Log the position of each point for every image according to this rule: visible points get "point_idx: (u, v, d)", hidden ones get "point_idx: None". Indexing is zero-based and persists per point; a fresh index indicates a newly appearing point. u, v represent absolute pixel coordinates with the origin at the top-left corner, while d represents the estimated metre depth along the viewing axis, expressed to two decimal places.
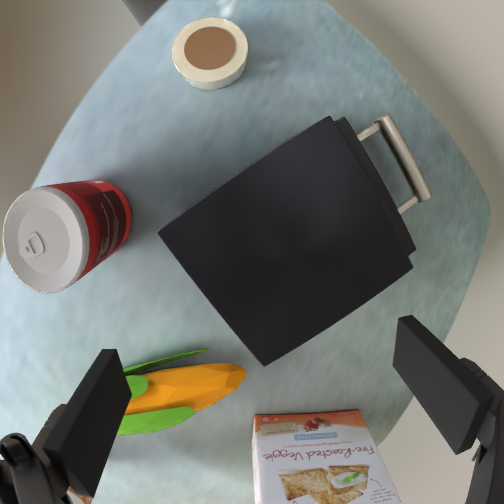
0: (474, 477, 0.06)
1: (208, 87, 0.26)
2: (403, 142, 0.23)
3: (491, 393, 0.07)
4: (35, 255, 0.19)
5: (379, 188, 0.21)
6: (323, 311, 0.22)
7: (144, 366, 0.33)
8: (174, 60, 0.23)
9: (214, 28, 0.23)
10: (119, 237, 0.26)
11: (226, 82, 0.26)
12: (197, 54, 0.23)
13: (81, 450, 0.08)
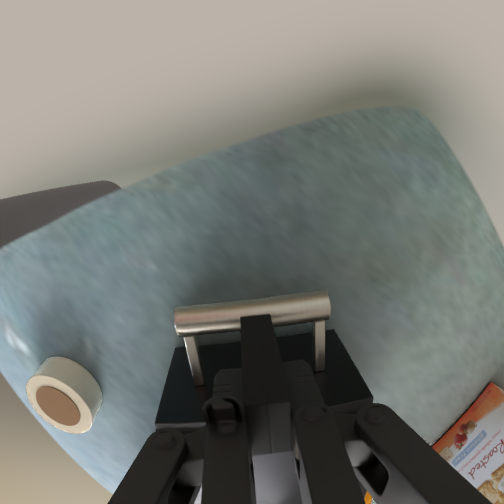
0: (302, 492, 0.08)
1: None
2: (226, 318, 0.16)
3: (287, 398, 0.09)
4: None
5: None
6: None
7: None
8: (64, 430, 0.21)
9: (38, 391, 0.20)
10: None
11: (97, 401, 0.22)
12: (62, 417, 0.21)
13: None
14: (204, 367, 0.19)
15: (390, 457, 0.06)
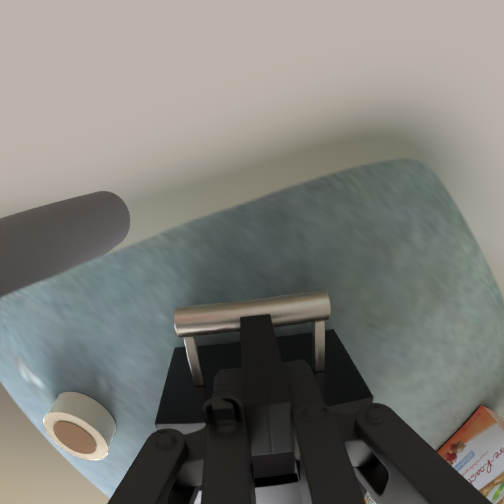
0: (302, 492, 0.08)
1: None
2: (226, 318, 0.16)
3: (287, 398, 0.09)
4: None
5: None
6: None
7: None
8: (81, 457, 0.22)
9: (55, 425, 0.21)
10: None
11: (111, 432, 0.23)
12: (79, 447, 0.22)
13: None
14: (204, 367, 0.19)
15: (390, 457, 0.06)
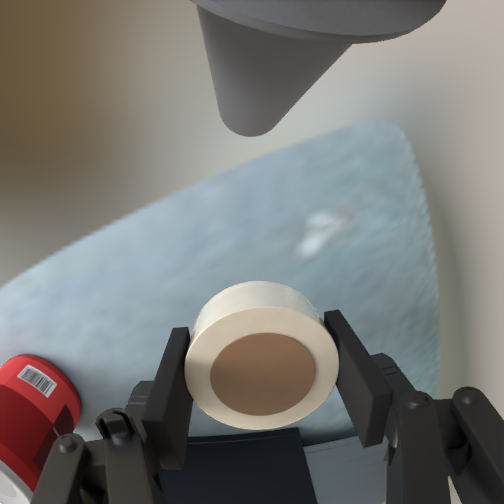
0: (388, 479, 0.07)
1: None
2: None
3: (390, 389, 0.09)
4: None
5: None
6: None
7: None
8: (187, 367, 0.12)
9: (296, 344, 0.12)
10: None
11: None
12: (235, 382, 0.13)
13: (174, 421, 0.10)
14: None
15: (477, 435, 0.06)
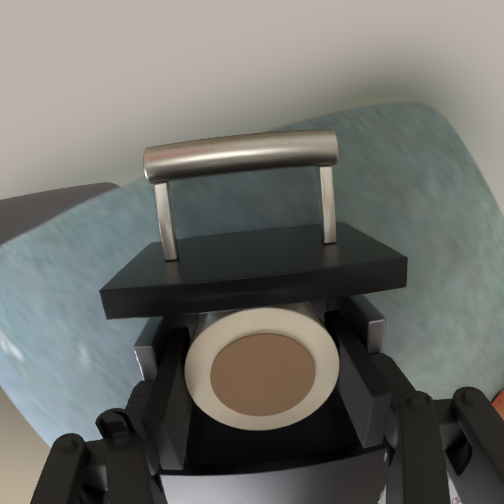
0: (388, 479, 0.07)
1: None
2: (206, 149, 0.12)
3: (390, 389, 0.09)
4: None
5: (253, 291, 0.11)
6: None
7: None
8: (187, 368, 0.12)
9: (297, 344, 0.12)
10: None
11: None
12: (235, 382, 0.13)
13: (174, 421, 0.10)
14: (181, 249, 0.16)
15: (477, 435, 0.06)
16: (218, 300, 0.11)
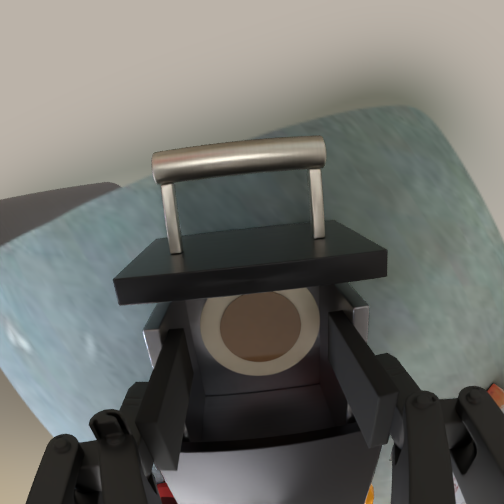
0: (394, 479, 0.07)
1: None
2: (208, 154, 0.14)
3: (396, 389, 0.09)
4: None
5: (249, 278, 0.13)
6: (348, 498, 0.16)
7: None
8: (202, 320, 0.17)
9: (286, 300, 0.17)
10: None
11: None
12: (239, 331, 0.17)
13: (168, 422, 0.10)
14: (184, 244, 0.17)
15: (482, 434, 0.06)
16: (219, 287, 0.13)
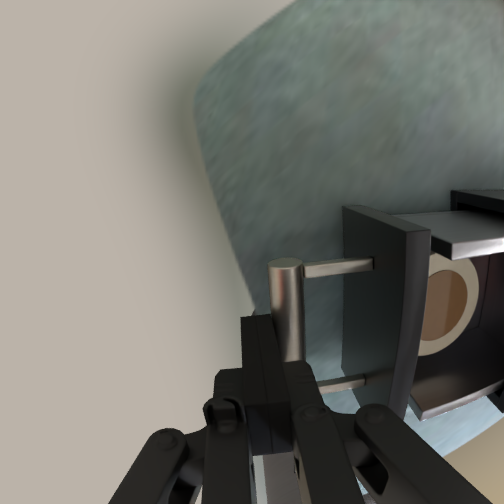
0: (301, 493, 0.08)
1: None
2: None
3: (287, 397, 0.09)
4: None
5: (405, 361, 0.12)
6: None
7: None
8: (420, 354, 0.17)
9: None
10: None
11: None
12: (437, 325, 0.16)
13: None
14: (355, 362, 0.18)
15: (390, 457, 0.06)
16: (405, 381, 0.13)
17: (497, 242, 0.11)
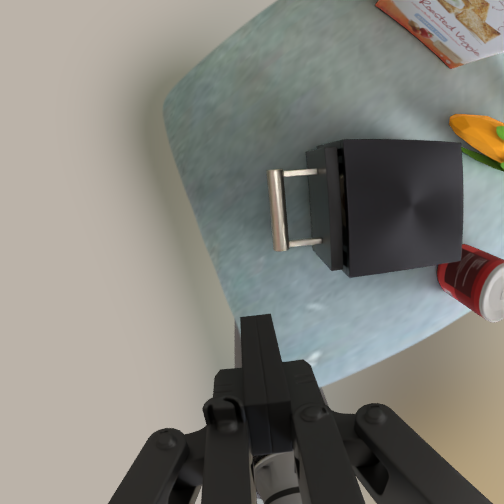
0: (301, 493, 0.08)
1: None
2: (277, 224, 0.31)
3: (287, 397, 0.09)
4: None
5: (334, 211, 0.28)
6: (416, 155, 0.26)
7: (490, 161, 0.36)
8: None
9: None
10: (461, 255, 0.35)
11: None
12: None
13: None
14: (317, 235, 0.34)
15: (390, 457, 0.06)
16: (337, 224, 0.29)
17: None
